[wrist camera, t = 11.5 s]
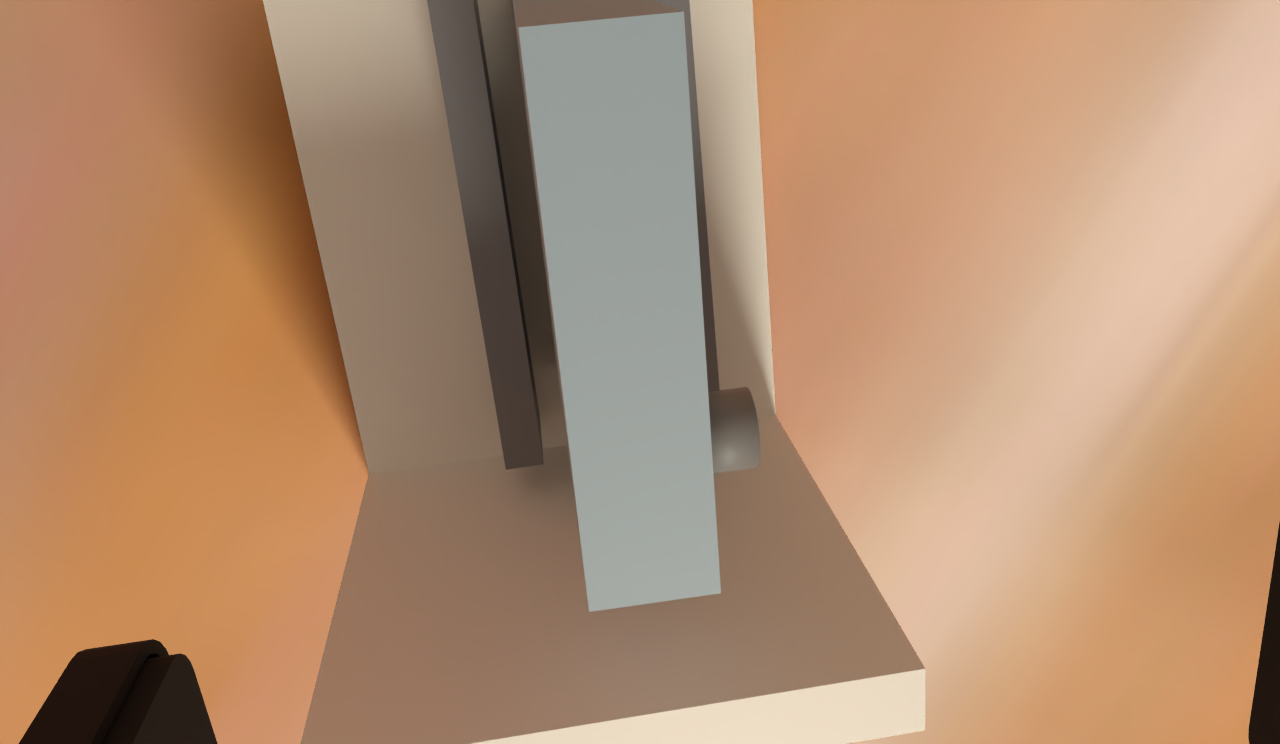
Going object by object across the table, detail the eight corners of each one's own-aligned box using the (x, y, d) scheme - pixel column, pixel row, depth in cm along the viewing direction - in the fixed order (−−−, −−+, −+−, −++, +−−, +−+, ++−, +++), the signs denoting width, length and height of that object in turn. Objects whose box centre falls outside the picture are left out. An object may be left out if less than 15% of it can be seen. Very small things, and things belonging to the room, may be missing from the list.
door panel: (654, -19, 26) (765, 3, 15) (681, 352, 30) (785, 584, 19) (511, -6, 26) (518, 27, 15) (556, 367, 30) (589, 611, 19)
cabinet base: (733, -208, 26) (929, -342, 14) (771, 448, 33) (924, 730, 21) (234, -159, 25) (-7, -258, 13) (381, 505, 32) (311, 834, 20)
